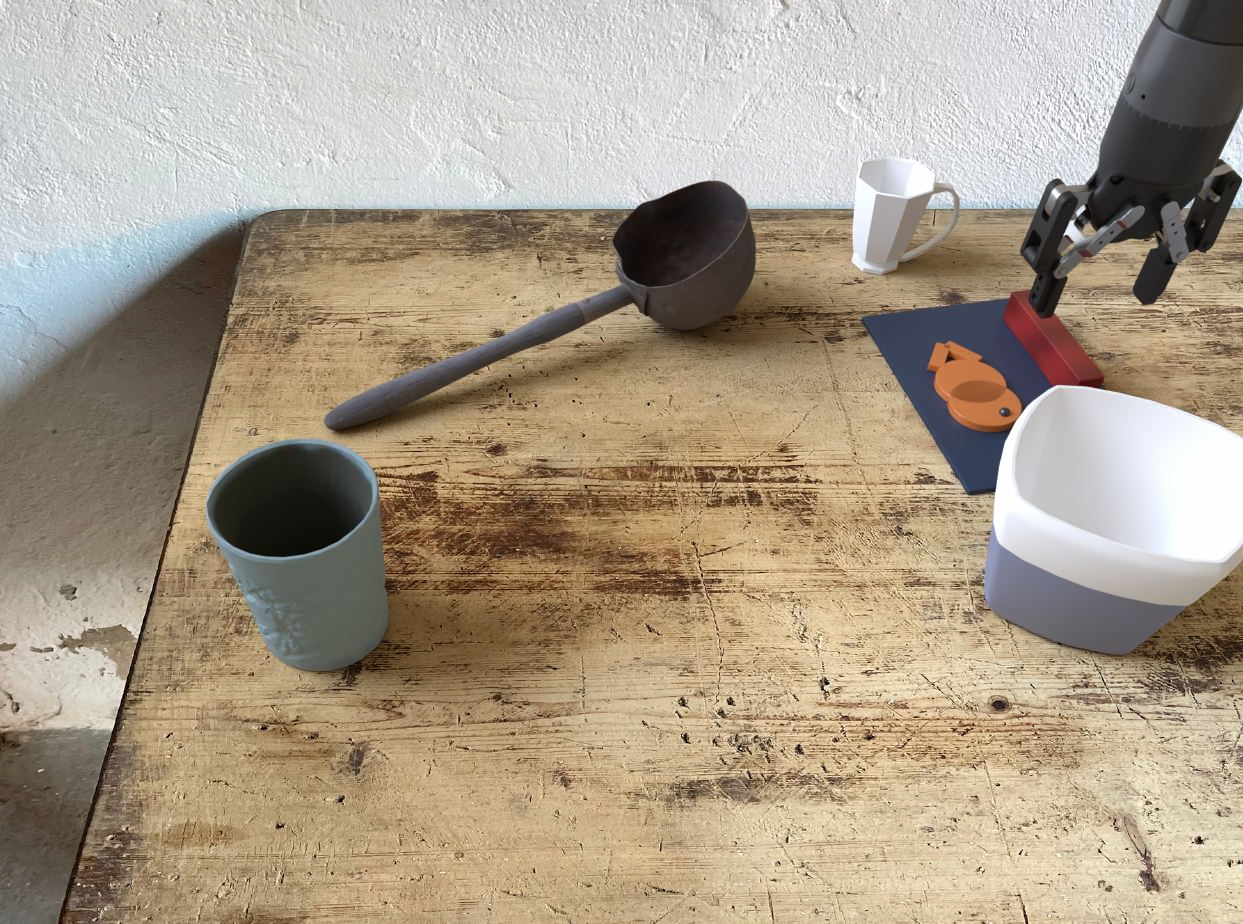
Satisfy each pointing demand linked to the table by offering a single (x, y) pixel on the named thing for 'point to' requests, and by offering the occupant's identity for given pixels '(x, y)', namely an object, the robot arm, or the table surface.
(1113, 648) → the bowl
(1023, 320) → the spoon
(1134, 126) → the robot arm
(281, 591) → the blue green tumbler
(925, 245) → the cup
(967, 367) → the fish
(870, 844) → the table surface
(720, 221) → the ladle
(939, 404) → the towel
